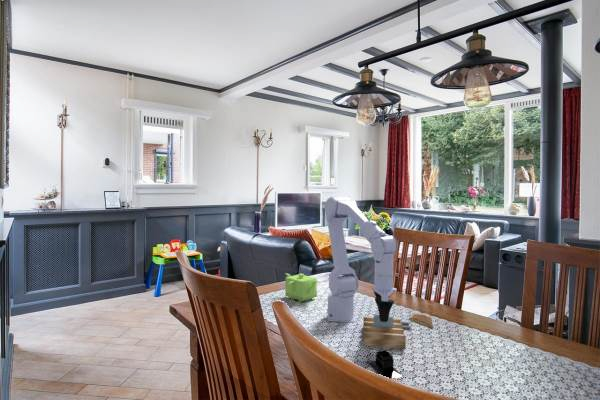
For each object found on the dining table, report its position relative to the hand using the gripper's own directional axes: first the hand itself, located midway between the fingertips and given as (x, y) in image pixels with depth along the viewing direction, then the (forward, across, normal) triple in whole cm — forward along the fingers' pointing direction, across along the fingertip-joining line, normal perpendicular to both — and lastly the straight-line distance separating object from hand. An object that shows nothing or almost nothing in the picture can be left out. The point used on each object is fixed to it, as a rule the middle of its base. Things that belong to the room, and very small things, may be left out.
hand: (383, 317), depth 113 cm
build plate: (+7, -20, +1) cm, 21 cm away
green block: (+7, +36, +32) cm, 49 cm away
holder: (+7, +10, -6) cm, 14 cm away
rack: (+7, 0, 0) cm, 7 cm away
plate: (+6, 0, 0) cm, 6 cm away
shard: (+7, +17, -16) cm, 24 cm away
